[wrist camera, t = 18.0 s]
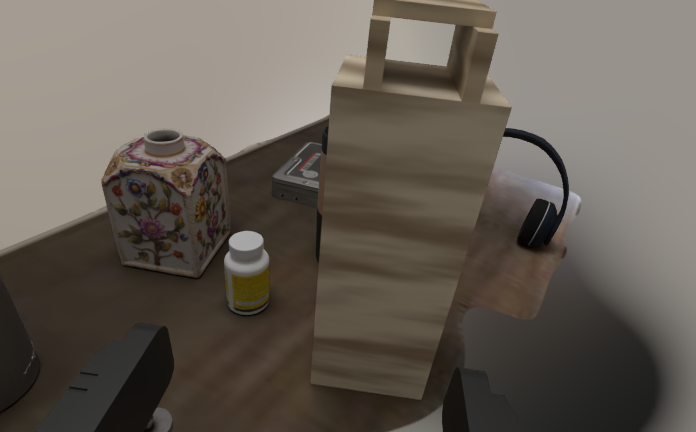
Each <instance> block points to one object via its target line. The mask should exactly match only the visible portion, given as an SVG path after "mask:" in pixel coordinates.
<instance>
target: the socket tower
mask: <svg viewBox="0 0 696 432" xmlns="http://www.w3.org/2000/svg"><path fill="white" fill-rule="evenodd" d="M495 16H496V11H494V10H493V9H491V8H489V7H488V6H486V5H484V4H483V3H481V2H479V1H478V0H374V6H373V14H372V17H371V21H370V22H371V23H370V30H369V40H368V48H367V57H362V56H352V55H347V56H346V58H345V60H344V62H343V64H342V66H341V68H340V70H339V72H338V74H337V76H336V78H335V80H334V82H333V84H332V90H331V103H330V117H329V131H328V145H327V159H326V173H325V186H324V200H323V214H322V228H321V242H320V256H319V270H318V284H317V298H316V312H315V326H314V340H313V354H312V367H311V381H310V384H316V385H322V386H329V387H336V388H343V389H350V390H356V391H363V392H370V393H377V394H383V395H390V396H397V397H404V398H411V399H417V400H421V399H422V396H423V393H424V390H425V386H426V383H427V380H428V377H429V373H430V370H431V367H432V364H433V360H434V357H435V354H436V351H437V348H438V344H439V341H440V338H441V335H442V331H443V328H444V325H445V322H446V318H447V315H448V312H449V309H450V306H451V302H452V299H453V296H454V293H455V289H456V286H457V283H458V280H459V276H460V273H461V270H462V267H463V264H464V260H465V257H466V254H467V251H468V247H469V244H470V241H471V238H472V234H473V231H474V228H475V225H476V222H477V218H478V215H479V212H480V209H481V205H482V202H483V199H484V196H485V192H486V189H487V186H488V183H489V180H490V176H491V173H492V170H493V167H494V163H495V160H496V157H497V153H498V150H499V147H500V144H501V140H502V137H503V134H504V131H505V128H506V124H507V121H508V118H509V115H510V111H511V108H512V107H511V106H510V104H509V103H508V102H507V100H506V99H505V98H504V96H503V95H502V94H501V92H500V91H499V89H498V88H497V87H496V85H495V84H494V83H493V81H492V80H491V79H490V77H489V76H488V71H489V68H490V63H491V60H492V56H493V52H494V49H495V45H496V41H497V37H498V33H497V32H495V31H494V30H493V29H492V27H493V24H494V20H495ZM391 17H394V18H403V19H412V20H421V21H429V22H438V23H447V24H454V25H456V26H455V31H454V35H453V41H452V45H451V50H450V54H449V59H448V64H447V67H445V66H437V65H429V64H420V63H412V62H403V61H395V60H387V59H385V56H386V49H387V41H388V34H389V27H390V26H389V25H390V19H391Z"/></svg>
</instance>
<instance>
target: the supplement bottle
mask: <svg viewBox="0 0 696 432" xmlns="http://www.w3.org/2000/svg"><path fill="white" fill-rule="evenodd" d="M269 266H270V264H269V256H268V254H267V252H266V251H265V250H264V245H263V238H262V236H261V235H260V234H258V233H256V232H252V231H243V232H239V233H236V234H234V235H233V236H232V237H231V238H230V239H229V252H228V253H227V254H226V256H225V259H224V268H225V282H226V295H227V303H228V306H229V308H230V309H231V310H232V311H233V312H235V313H238V314H241V315H252V314H256V313H258V312H260V311H262V310H263V309H264V308H265V307H266V306H267V305H268V303H269V299H270V275H269V273H270V271H269Z"/></svg>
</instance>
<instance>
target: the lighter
mask: <svg viewBox="0 0 696 432" xmlns="http://www.w3.org/2000/svg"><path fill="white" fill-rule="evenodd" d="M172 430H173V421H172V417H171V414H170V413H169V412H168V411H167V410H166V409H164V408H156V410H155V412H154V414H153V415H152V417H151V419H150V421H149V423H148V425H147V427H146V429H145V431H144V432H172Z"/></svg>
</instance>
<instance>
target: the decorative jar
mask: <svg viewBox="0 0 696 432" xmlns="http://www.w3.org/2000/svg"><path fill="white" fill-rule="evenodd" d="M102 187H103V191H104V196H105V200H106V204H107V209H108V213H109V217H110V221H111V225H112V230H113V233H114V237H115V241H116V245H117V248H118V252H119V256H120V259H121V263H122V265H125V266H131V267H137V268H142V269H148V270H153V271H159V272H165V273H170V274H175V275H182V276H188V277H194V278H198V277H200V276H201V274H202V273H203V271H204V270H205V268H206V267H207V265H208V264H209V263H210V261H211V260H212V258H213V257H214V256H215V254H216V253H217V251H218V250H219V248H220V247H221V246H222V244H223V243H224V241H225V240H226V238H227V237H228V235H229V234H230V231H231V226H230V209H229V195H228V183H227V174H226V159H225V158H224V157H223V156H222V155H221V154H220V153H219V152H218V151H217V150H216V149H215V148H213V147H211V146H210V145H209V144H208V143H206V142H204V141H203V140H202V139H200V138H196V137H189V136H184V135H183V134H182V133H181V132H180V131H178V130H175V129H157V130H153V131H150V132H148V133H146V134H145V135H144V137H142V138H137V139H134V140H132V141H130V142H128V143H126V144H125V145H123V146H121V147H120V148H119V149H118V150H116V151H115V153H114V155H113V157H112V159H111V161H110V163H109V165H108V168H107V169H106V171H105V174H104V176H103V178H102Z"/></svg>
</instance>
